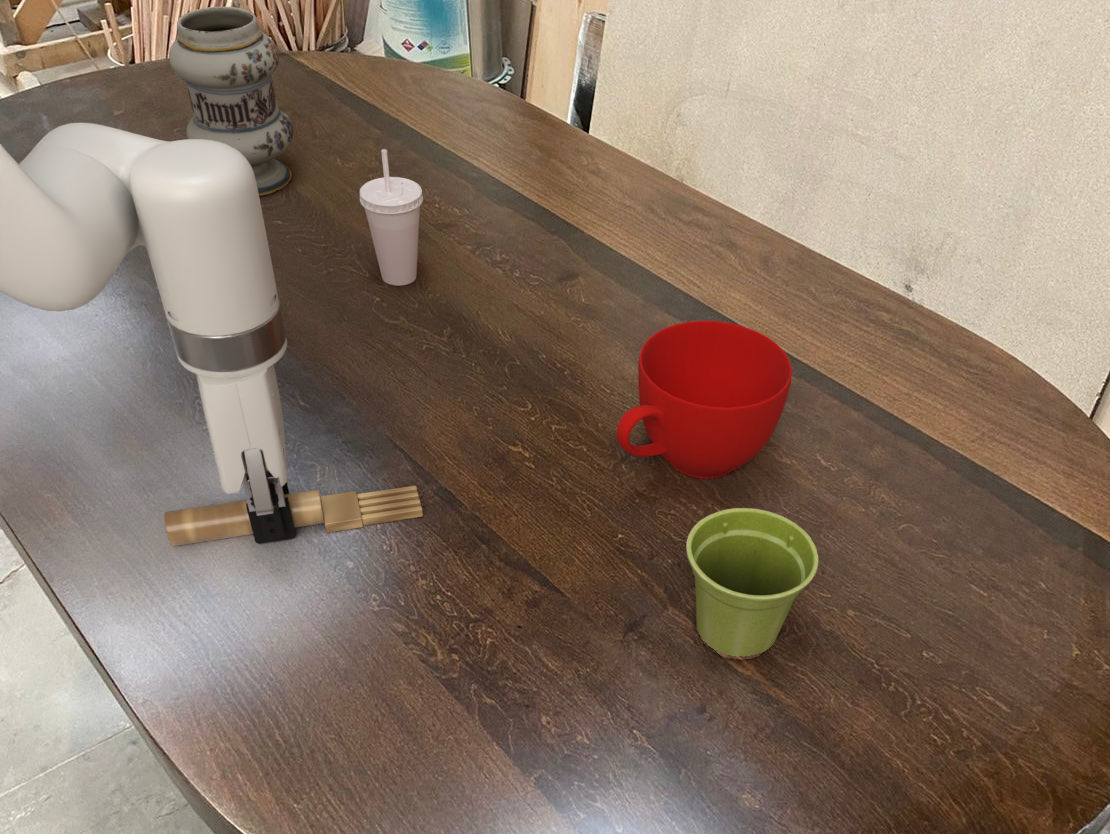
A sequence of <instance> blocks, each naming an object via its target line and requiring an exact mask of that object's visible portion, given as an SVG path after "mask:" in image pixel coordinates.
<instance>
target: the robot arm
mask: <svg viewBox="0 0 1110 834" xmlns="http://www.w3.org/2000/svg"><path fill="white" fill-rule="evenodd" d="M263 214H264V213H263V210H262V204H261V199H260V196H259V193H258V188H257V183H256V179H255V175H254V172H253V169H252V167H251V165H250V163H249V162H248V160H247V159H246V158H245V156H244V155H243V154H242V153H240V152H239V151H238V150H236V149H235V148H233V147H231V146H229V145H227V144H224V143H221V142H218V141H213V140H205V139H188V138H187V139H177V140H172V141H168V140H163V139H159V138H158V139H157V138H154V137H150V136H146V135H142V134H137V133H134V132H130V131H127V130H123V129H119V128H116V127H111V126H106V125H104V124H99V123H93V122H69V123H66V124H61V125H59V126H57V127H55V128H54V129H52V130H50V131H49V132H48V133H46V134H45V135H44V136H43V137H42V138H41V139H40V140H39V142H38V143H37V144H35V146H34V147H33V148H32V149H31V151H30V152H29V153H28V154H27V155H26V156H25V158H24V159H22V161H20V162H19V163H18V162H17V161H16V159H14V157H12V156H11V154H10V153H9V152H8V151H7V149H5V148H4V146H3V145H2V144H1V143H0V292H2V293H3V294H5V295H7V296H8V297H10V298H11V299H13V300H15V301H17V302H19V303H22V304H24V305H26V306H29V307H31V308H35V309H38V310H42V311H46V312H47V311H48V312H66V311H71V310H72V311H73V310H76V309H79V308H81V307H84V306H86V305H87V304H89V303H90V302H92V301H93V300H94V299H96V298H97V297H99V295H100V294H101V293H102V292H103V290H104V289H105V288H106V287H107V285H108V284H109V282H110V281H111V280H112V278H113V277H114V275H115V273H116V272H117V271H118V269H119V268H120V265H121V264H122V262H123V261H124V259H125V257H126V256H127V254H128V253H129V252H130V251H132V250H135V248H137V247H139V246H143V247H145V248H146V251H147V255H148V258H149V261H150V266H151V268H152V272H153V275H154V279H155V282H156V286H157V290H158V293H159V296H160V299H161V304H162V307H163V310H164V314H165V319H166V322H167V325H168V330H169V332H170V336H171V339H172V343H173V346H174V350H175V353H176V357H177V360H178V362H179V364H180V365H181V366H182V367H183V369H186V370H187V371H189V372H190V373H192V374H195V375H196V381H197V385H198V390H199V391H198V392H199V396H200V400H201V405H202V410H203V414H204V418H205V422H206V426H207V431H208V435H209V440H210V443H211V448H212V452H213V456H214V460H215V463H216V464H215V465H216V468H217V472H218V477H219V482H220V486H221V490H222V491H223V492H224V493H226V494H227V495H232V494H240V491H241V489H242V486H243V491H244V496H245V500H247V503H246V508H247V512H248V516H249V520H250V524H251V527H252V531H253V534H252V535H253V539H254V542H255V543H256V544H259V545H261V544H267V543H268V544H269V543H274V542H281V541H287V540H293V539H295V538H296V536H297V535H296V528H294V523H293V518H292V514H291V509H290V505H289V500H288V497H285V498H284V494H290V491H289V486H288V481H289V477H288V462H287V460H288V459H287V447H286V433H285V425H284V416H283V408H282V403H281V402H282V401H281V395H280V391H279V383H278V379H277V373H276V369H275V364H276V363H277V362H279V361H280V360H281V358H282V357H283V356H284V355H285V352H286V351H287V348H288V340H287V335H286V329H285V325H284V319H283V314H282V309H281V304H280V299H279V294H278V288H277V282H276V277H275V273H274V267H273V263H272V256H271V252H270V245H269V241H268V235H267V230H266V225H265V220H264V215H263Z"/></svg>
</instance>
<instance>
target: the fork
mask: <svg viewBox="0 0 1110 834" xmlns="http://www.w3.org/2000/svg"><path fill="white" fill-rule="evenodd" d="M285 497H288V500H289V505H290V509H291V514H292V518H293V523H294V528H295V529H296V528H303V527H308V526H314V525H315V526H316V525H322V524H324V526H325V527H324V528H325V532H326V533H327V534H329V533H334V532H341V531H348V530H355V529H360V528H364V526H371V525H377V524H384V523H389V522H396V521H404V520H409V519H415V518H422V517H424V511H423V507H422V504H421V499H420V495H419V492H418V488H417V485H410V486H403V487H397V488H396V487H395V488H389V489H381V490H376V491H369V492H368V491H367V492H361V493H358V492H357V491H356V490H353V491H346V492H340V493H334V494H333V493H332V494H326V495H321V494H320V490H319V489H312V490H311V489H310V490H305V491H304V490H303V491H298V492H291V493H290V492H289V494H284V498H285ZM246 503H247V499H244V500H243V499H242V500H236V501H230V502H229V501H228V502H221V503H216V504H208V505H202V506H195V507H194V506H193V507H188V508H181V509H174V510H168V511H167V510H166V511H165V512H164V514H163V515H164V517H163V519H164V526H165V531H166V537H167V539H168V541H169V544H170V546H171V547H177V546H185V545H190V544H197V543H203V542H210V541H216V540H224V539H229V538H237V537H243V536H250V535H253V531H252V527H251V524H250V520H249V516H248V512H247V508H246Z"/></svg>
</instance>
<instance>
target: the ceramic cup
mask: <svg viewBox="0 0 1110 834" xmlns="http://www.w3.org/2000/svg"><path fill="white" fill-rule="evenodd" d="M637 364H638V366H637V367H638V368H637V369H638V370H637V371H638V372H637V373H638V375H637V378H638V379H637V380H638V381H637V382H638V383H637V385H638V402H639V405H636V406H635V407H632V408H630V409H629V410H627V411H626V412H625V413H624V414H623V415H622V417H620V420H619V422H618V424H617V427H616V440H617V443H618V444H619V446H620V447H621V448H622V449H623V450H624V451H625V452H626V453H628V454H629V455H631V456H634V457H637V458H649V457H654V456H659V455H661V456H662V457H663V458H664V459H665V460H666V461H667V462H668V463H669V464H670V465H671V466H672V467H673V468H674V469H675V470H676V471H678V472H680V473H681V474H683V475H686V476H687V477H688V476H689V477H692V478H696V479H697V478H698V479H706V480H707V479H717V478H721V477H724V476H727V475H728V474H730V473H732V472H733V471H735V470H737V469H739V468H741V467H743V466H744V465H745V464H747V463H748V462H750V461H751V460H752V459H753V458H755V457H756V456H757V455H758V454H759V453H760V452H761V451H762V449H763V448H764V447H765V446H766V445H767V444H768V442H769V440H770V439H771V437H772V436H773V434H774V432H775V430H776V427H777V426H778V423H779V421H780V419H781V417H782V414H783V411H784V409H785V406H786V403H787V400H788V397H789V393H790V389H791V385H792V378H793V368H792V364H791V360H790V359H789V357H788V355H787V353H786V352H785V350H783V349H782V348H781V346H780V345H779V344H778V343H777V342H775V341H774V340H773V339H771V338H770V337H769V336H766V335H764V334H763V333H761V332H759V331H757V330H754V329H751V328H749V327H746V326H744V325H741V324H736V323H731V322H726V321H718V320H694V321H693V320H692V321H685V322H680V323H675V324H672V325H670V326H666V327H665V328H662V329H660V330H659V331H657V332H655V333H654V334H652V335H651V336H650V337H649V338H647V340H646V341H645V342H644V344H643V345H642V347H641V349H640V353H639V356H638V363H637ZM641 420H642V423H643V425H644V428H645V431H646V434H647V436H648V438H649V440H650V441H651V443H649V444H641V445H640V444H639V445H633V444H631V442H630V436H631V432H632V430H633V429H634V427H635V426H636V424H637V423H639V422H640V421H641Z"/></svg>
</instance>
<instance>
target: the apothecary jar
mask: <svg viewBox="0 0 1110 834" xmlns="http://www.w3.org/2000/svg"><path fill="white" fill-rule="evenodd" d="M176 30H177V38H176V39H174V41H173V42H172V44H171V46H170V49H169V52H168V60H169V64H170V67H171V69H172V71H173V72H174V73H175V74H176V75H177V76H178V77H179V78H180V79H182V80H184V81H185V85H186V89H187V92H188V97H189V101H190V106H191V110H192V115H193V116H192V117H191V118H190V119H189V121H188V123H187V127H186V138H187V139H205V140H213V141H218V142H221V143H224V144H227V145H229V146H231V147H233V148H235V149H236V150H238V151H239V152H240V153H242V154H243V155H244V156H245V158H246V159H247V160H248V162H249V163H250V165H251V167H252V169H253V172H254V175H255V179H256V183H257V188H258V193H259V197H263V196H266V195H267V196H268V195H271V194H273V193H275V192H278V191H280V190H282V189H284V188H285V187H286V186H287V185H288V184H289V183H290V182H289V181H291V180H292V177H293V176H292V175H293V174H292V170H291V169H290V167H289V166H288V165H287V164H285V162H282V161H281V160H279V159H277V158H278V157H279V156H280V155H282V154H283V153H284V152H285V151H286V150H287V149H288V147H290V145H291V143H292V141H293V138H294V125H293V122H292V120H291V118H290V117H289V115H288V114H287V112H286V111H284V109H282V108H281V107H279V105H278V100H277V96H276V92H275V87H274V81H273V76H272V75H273V73H274V72H276V71H277V68H278V66H279V64H280V51H279V48H278V47H277V45H276V43H275V42H274V41H273V39H272V38H271V37H270V36H268V35H267V34H266V33H265V32H263V31H262V29H261V28H260V24H259V21H258V18H257V16H256V15H255V14H254V12H252V11H249V10H247V9H244V8H241V7H235V6H210V7H209V6H208V7H203V8H198V9H194V10H191V11H188V12H186V13H184V14H183V15H181V16H180V17H179V18H178V20H177V21H176ZM277 190H278V191H277Z"/></svg>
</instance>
